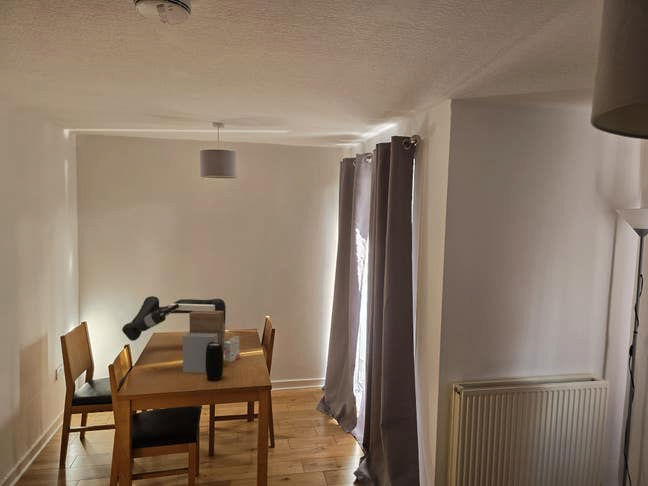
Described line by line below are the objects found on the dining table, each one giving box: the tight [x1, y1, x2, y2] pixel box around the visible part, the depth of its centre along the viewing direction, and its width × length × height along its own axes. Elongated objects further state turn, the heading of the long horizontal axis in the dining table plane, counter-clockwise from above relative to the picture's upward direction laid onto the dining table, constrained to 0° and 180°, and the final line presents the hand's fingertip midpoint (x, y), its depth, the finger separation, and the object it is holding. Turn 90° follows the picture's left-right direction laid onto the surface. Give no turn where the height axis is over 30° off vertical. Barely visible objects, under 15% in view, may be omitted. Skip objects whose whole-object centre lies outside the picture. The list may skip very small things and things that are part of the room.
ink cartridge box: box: [224, 335, 240, 363], centre depth 267 cm, size 9×5×15 cm, turn 148°
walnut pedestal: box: [189, 311, 225, 364], centre depth 257 cm, size 8×18×32 cm, turn 85°
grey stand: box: [182, 332, 218, 374], centre depth 247 cm, size 7×18×21 cm, turn 85°
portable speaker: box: [205, 342, 224, 382], centre depth 235 cm, size 9×9×20 cm
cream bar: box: [167, 303, 215, 311], centre depth 246 cm, size 4×26×3 cm, turn 85°
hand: (179, 304), depth 246 cm, fingers closed on cream bar, 3 cm apart
